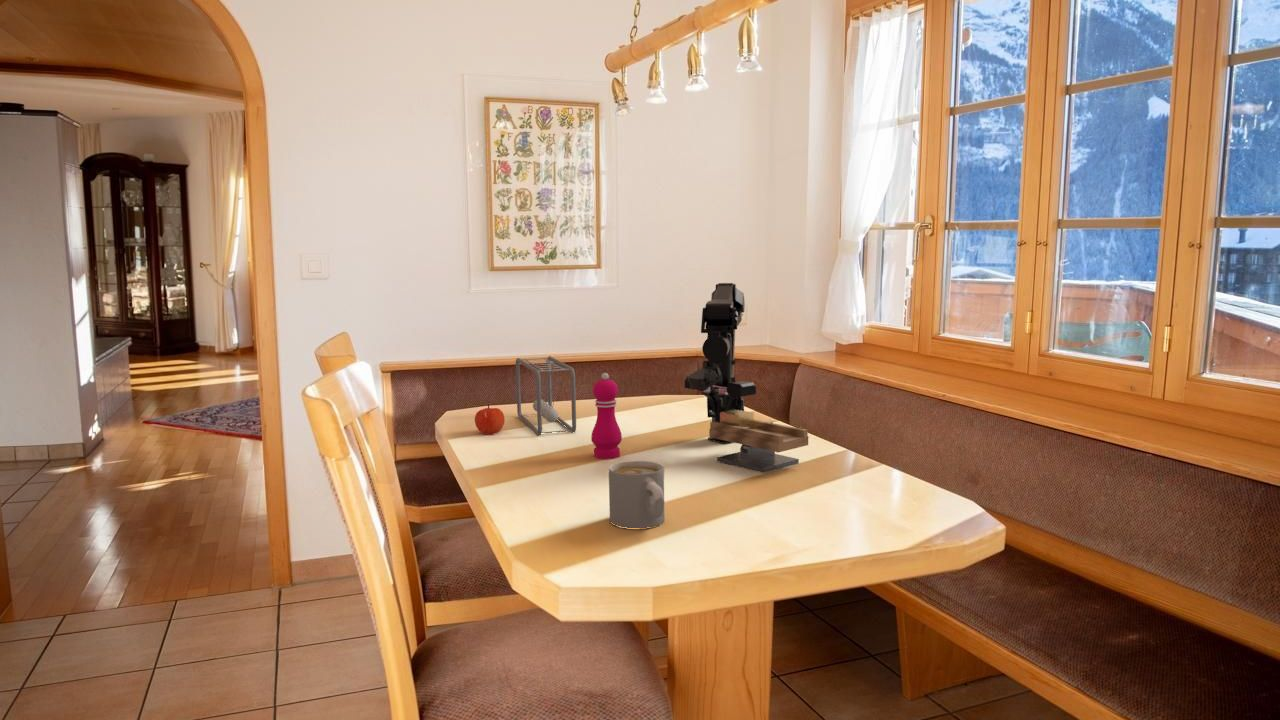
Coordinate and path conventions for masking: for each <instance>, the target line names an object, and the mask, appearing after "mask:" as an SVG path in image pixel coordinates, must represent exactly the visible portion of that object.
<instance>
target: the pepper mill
mask: <svg viewBox="0 0 1280 720" xmlns="http://www.w3.org/2000/svg"><path fill="white" fill-rule="evenodd" d="M592 394H593V396H594V397H595V406H594V407H596V410H597V416H596V421H595V424H594V427H593V429H592V430H591V431H592V432H591V438H590V439H591V442H592V444H593V445H594V448H593V456H594V458H597V459H600V458H602V460H608V459H609V460H610V459H611V458H612V459H616V458H619V457H620V456H621V448H620V447H619V445H620V444H621V442H622V440H623V438H622V437H623V436H622V432H621V428H620V426H619V424H618V422H617V418H616V413H615V408H616V406H617V399H616V397H617V396H618V394H619V387H618V384H617V383H616V382H615V381H614V380H612V379H610V375H609V374H608V372H607V373H606V372H603V373H602V374H601V379H600V380H598V381H596V382H595V383H594V384H593V386H592Z"/></svg>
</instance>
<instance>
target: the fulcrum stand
mask: <svg viewBox="0 0 1280 720" xmlns="http://www.w3.org/2000/svg"><path fill="white" fill-rule="evenodd" d="M739 449H740V450H739V451H737V452H733V453H729V454H725V455H721V456H717V457H716V460H717V462H718V463H720V464H721V463H723V464H726V465H729V466H734V467H739V468H743V469H746V470H751V471H754V472H757V473H758V472H759V473H761V474H764V473H768V472H772V471H776V470H779V469H782V468H786V467H790V466H793V465H798V464H800V463H799V462H800V461H799V460H800V459H799V458H796V457H793V456H787V455H783V454H777V453H776V452H774V451H770V450H765V449H761V448H756V447H752V446H747V445H743V444H740V448H739Z"/></svg>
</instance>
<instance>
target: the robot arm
mask: <svg viewBox="0 0 1280 720" xmlns="http://www.w3.org/2000/svg"><path fill="white" fill-rule="evenodd" d="M736 284H737V283H733V282H719V283H716V284H715V289H714V290H713V291H712V293H711V297H710V298H711V300H707V302H706V303H705V307H702V311H701V312H702V313H701V326H700V327H701V328H700V333H701V334H707V337H706V339H705V341H704V342H703V344H702V349H701V350H702V353H703V355H704V357H705V358H706V360H703V362H702V366H701V368H700V369H697V370H696V371H693V372H692V373H690V374H689V375H688V376H686V378H685V379H684V388H685V389H688V390H692V391H694V390H698V391H699V392H700V394H702V395H704V396H705V397H706V408H707V418H709V419H710V418H711V422H719V423H720V412H724V411H729V410H734V409H735V410H741V411H745V402H744V399H743V397H746V396H753V395H756V394H757V386H756V384H755V383H754V382H753V381H747V380H739V381H736V377H735V376H734V371H735V370H734V369H735V368H734V367H735V365H736V360H735V349H736V348H735V346H736V345H735V343H736V330H738V327H739V325H740V323H741V322H742V319H743V317H742V316H743V313H745V310H746V309H745V303H746V302H745V294H744V292H743V291H741V290H740V289H738V288H737V285H736ZM707 440H708V441H713V442H716V443H717V442H718V443H721V444H730V443H731V442H729V441H725V440H720V439H716V438H711V437H709V436H708V437H707Z"/></svg>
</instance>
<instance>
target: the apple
mask: <svg viewBox="0 0 1280 720" xmlns="http://www.w3.org/2000/svg"><path fill="white" fill-rule="evenodd" d="M505 422H506V417H505V414H504V412H503V411H502V409H500V408H497V407H494V408H493V407H490V403H489V404H487V407H486V408H483V409H480V410H478V411H477V412H476V414H475V415H474V424H475V427H476V428H477V430H478V432H480V433H481V434H482V433H483V434H482V435H491V434H492V435H495V434H494V433H496V434H498V433H499V432H501V431H502V429H503V428H504V425H505Z"/></svg>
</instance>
